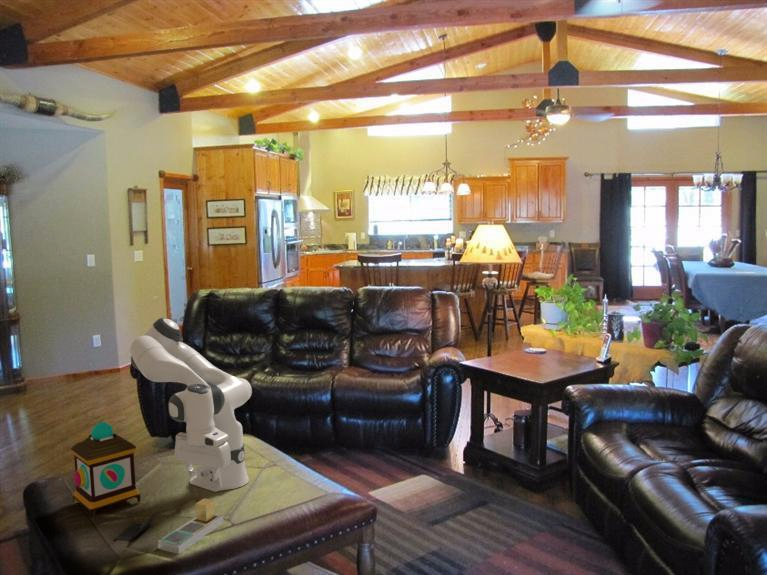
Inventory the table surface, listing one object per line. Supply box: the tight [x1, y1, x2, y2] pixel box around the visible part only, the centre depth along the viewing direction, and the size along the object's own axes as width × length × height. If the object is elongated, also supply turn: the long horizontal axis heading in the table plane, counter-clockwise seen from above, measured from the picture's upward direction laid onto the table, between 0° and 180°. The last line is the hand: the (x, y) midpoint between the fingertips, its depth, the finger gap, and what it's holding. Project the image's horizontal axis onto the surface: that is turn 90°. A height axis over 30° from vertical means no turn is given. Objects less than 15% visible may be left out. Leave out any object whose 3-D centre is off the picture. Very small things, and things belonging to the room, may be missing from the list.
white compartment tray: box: [157, 513, 224, 555], centre depth 197 cm, size 8×21×3 cm, turn 157°
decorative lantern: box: [70, 421, 141, 519], centre depth 221 cm, size 20×20×30 cm
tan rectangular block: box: [194, 498, 216, 524], centre depth 203 cm, size 4×4×8 cm
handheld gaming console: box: [113, 511, 159, 542], centre depth 199 cm, size 12×7×10 cm
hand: (203, 476), depth 201 cm, fingers open, 8 cm apart
